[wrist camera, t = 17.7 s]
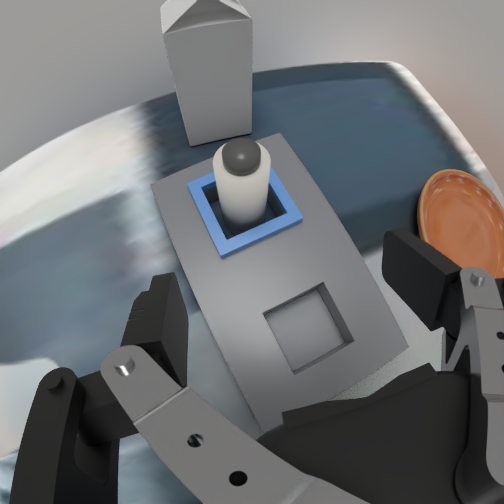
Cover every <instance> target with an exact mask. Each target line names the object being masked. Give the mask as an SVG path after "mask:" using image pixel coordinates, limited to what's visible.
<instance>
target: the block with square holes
mask: <svg viewBox="0 0 504 504" xmlns="http://www.w3.org/2000/svg"><path fill="white" fill-rule="evenodd" d="M255 142H257V143H259V144H261V145H262V146H263V147H264V148H265V149H266V150H267V151H268V153H269V155H270V159H271V165H270V175H269V184H268V194H267V201H268V202H269V204H270V206H271V208H272V209H273V211H274V213H275V214H276V216H277V218H275V219H273V220H270V221H268V222H266V223H264V224H261V225H259V226H257V227H255V228H252V229H250V230H248V231H246V232H244V233H241V234H239V235H237V236H235V237H233V238H230V239H228V240H226V238H225V236H224V234H223V232H222V230H221V227H220V225H219V223H218V221H217V219H216V217H215V215H214V213H213V211H212V209H211V207H210V205H209V203H210V202H213V201H215V200H217V199H219V195H218V190H217V185H216V180H215V174H214V169H213V158H214V157H212V158H210V159H207V160H205V161H202V162H200V163H198V164H195V165H193V166H191V167H188V168H186V169H184V170H181V171H179V172H177V173H174V174H172V175H170V176H168V177H166V178H163V179H161V180H159V181H157V182H155V183H153V184H150V185H151V188H152V191H153V193H154V196H155V199H156V201H157V204H158V207H159V209H160V212H161V215H162V217H163V220H164V222H165V225H166V228H167V230H168V233H169V235H170V238H171V240H172V243H173V245H174V248H175V250H176V252H177V255H178V257H179V260H180V262H181V264H182V267H183V269H184V271H185V274H186V276H187V278H188V281H189V283H190V285H191V288H192V290H193V292H194V295H195V297H196V299H197V301H198V303H199V306H200V308H201V310H202V312H203V314H204V317H205V319H206V321H207V323H208V325H209V327H210V329H211V332H212V334H213V336H214V338H215V340H216V342H217V344H218V346H219V348H220V350H221V352H222V354H223V356H224V358H225V360H226V362H227V364H228V366H229V368H230V370H231V372H232V374H233V376H234V378H235V380H236V382H237V384H238V386H239V388H240V390H241V392H242V394H243V396H244V397H245V399H246V401H247V403H248V405H249V407H250V409H251V411H252V412H253V414H254V416H255V418H256V420H257V421H258V423H259V425H260V427H261V429H262V430H263V432H266V431H269V430H271V429H273V428H274V427H276V426H279V425H281V424H283V420H282V412H284V411H288V410H293V409H297V408H301V407H305V406H309V405H312V404H316V403H320V402H324V401H327V400H329V399H331V398H333V397H334V396H336V395H338V394H339V393H341V392H343V391H344V390H346V389H348V388H349V387H351V386H353V385H354V384H356V383H357V382H359V381H360V380H362V379H364V378H365V377H367V376H368V375H370V374H371V373H373V372H374V371H376V370H377V369H379V368H380V367H382V366H383V365H384V364H386V363H387V362H389V361H390V360H392V359H393V358H394V357H396V356H397V355H398V354H400V353H401V352H403V351H404V350H405V349H407V348H408V347H409V346H408V344H407V342H406V340H405V338H404V336H403V334H402V332H401V330H400V328H399V326H398V324H397V322H396V320H395V318H394V316H393V314H392V312H391V310H390V308H389V306H388V304H387V302H386V300H385V298H384V296H383V294H382V293H381V291H380V289H379V287H378V285H377V283H376V282H375V280H374V278H373V276H372V274H371V273H370V271H369V269H368V267H367V265H366V264H365V262H364V260H363V259H362V257H361V255H360V253H359V252H358V250H357V248H356V247H355V245H354V243H353V241H352V240H351V238H350V236H349V235H348V233H347V232H346V230H345V228H344V227H343V225H342V223H341V222H340V220H339V219H338V217H337V215H336V214H335V212H334V211H333V209H332V208H331V206H330V204H329V203H328V201H327V200H326V198H325V197H324V195H323V194H322V192H321V191H320V189H319V188H318V186H317V185H316V183H315V182H314V180H313V179H312V177H311V176H310V174H309V173H308V171H307V170H306V169H305V167H304V166H303V164H302V163H301V161H300V160H299V159H298V157H297V156H296V154H295V153H294V151H293V150H292V149H291V147H290V146H289V145H288V143H287V142H286V140H285V139H284V138H283V136H282V135H281V134H280V133H277V134H275V135H272V136H269V137H266V138H263V139H260V140H257V141H255ZM316 288H317V289H318V291H319V293H320V295H321V297H322V299H323V300H324V302H325V304H326V306H327V308H328V310H329V312H330V314H331V315H332V317H333V319H334V321H335V323H336V325H337V327H338V329H339V331H340V333H341V335H342V336H343V338H344V340H345V343H343V344H341V345H340V346H338V347H336V348H335V349H333V350H331V351H329V352H328V353H326V354H324V355H322V356H321V357H319V358H317V359H315V360H313V361H312V362H310V363H308V364H306V365H304V366H302V367H301V368H299V369H297V370H295V371H293V372H292V370H291V368H290V366H289V364H288V362H287V360H286V358H285V356H284V355H283V353H282V351H281V349H280V347H279V345H278V343H277V341H276V339H275V337H274V335H273V333H272V331H271V329H270V327H269V325H268V323H267V321H266V320H265V318H264V316H263V315H265V314H267V313H269V312H271V311H273V310H275V309H277V308H279V307H281V306H283V305H285V304H287V303H289V302H291V301H293V300H295V299H296V298H298V297H300V296H302V295H304V294H306V293H308V292H310V291H312V290H314V289H316Z"/></svg>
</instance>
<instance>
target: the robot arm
mask: <svg viewBox="0 0 504 504" xmlns="http://www.w3.org/2000/svg"><path fill="white" fill-rule="evenodd" d="M382 274H383V277H384V280H385V281H386V283H387V284H388V285H389V286H390V287H391V288H392V289H393V290H394V291H395V292H396V293H397V294H398V295H399V296H400V298H401V299H402V300H403V301H404V302H405V303H406V304H407V305H408V306H409V307H410V308H411V310H412V311H413V312H414V313H415V314H416V315H417V316H418V317H419V318H420V320H421V321H422V322H423V323H424V324H425V325H426V326H427V328H428V329H429V330H430V331H434V330H436V329H438V328H441V327H444V328H445V329H444V332H443V335H442V360H441V371H435V370H434V368H433V367H432V366H431V364H430V363H427V364H425V365H422V366H420V367H418V368H416V369H413V370H411V371H409V372H406V373H404V374H401V375H399V376H398V377H396V378H395V379H393V380H392V381H391V382H389V383H388V384H386V385H385V386H384V387H382V388H381V389H379V390H378V391H376V392H375V393H373V394H372V395H370V396H368V397H364V398H357V399H347V400H336V401H324V402H320V403H316V404H312V405H309V406H305V407H301V408H297V409H293V410H288V411H284V412H282V420H283V424H281V425H279V426H276V427H274V428H273V429H271V430H269V431H268V432H266V433H265V434H263V435H262V436H261V437H259V438H258V439H257V440H256V441H255V440H254V439H252V438H251V437H250V436H248V435H247V434H246V433H244V432H243V431H242V430H241V429H239V428H238V427H237V426H235V425H234V424H233V423H232V422H230V421H229V420H228V419H227V418H225V417H224V416H223V415H222V414H220V413H219V412H218V411H217V410H216V409H214V408H213V407H212V406H211V405H210V404H209V403H207V402H206V401H205V400H204V399H203V398H202V397H200V396H199V395H198V394H197V393H196V392H195V391H194V390H192V389H191V388H190V387H188V386H187V351H188V315H187V310H186V307H185V304H184V301H183V297H182V294H181V291H180V288H179V285H178V281H177V278H176V276H175V274H174V272H172V273H166V274H161V275H155V276H153V278H152V281H151V285H150V288H149V291H144V292H141V294H140V295H139V296H138V297H137V298H136V299H135V300H134V303H133V306H132V309H131V313H130V315H129V318H128V319H129V321H128V322H127V325H126V328H125V332H124V335H123V339H122V342H121V346H120V347H119V348H117V349H115V350H113V351H112V352H110V353H109V354H108V355H107V356H106V357H105V358H104V360H103V362H102V364H101V370H100V371H98V372H95V373H92V374H89V375H86V376H83V377H80V378H77V376H76V375H75V373H74V372H73V371H72V370H71V369H69V368H65V367H61V368H57V369H54V370H52V371H50V372H49V373H48V374H46V375H45V376H44V377H43V379H42V380H41V381H40V383H39V386H38V388H37V391H36V395H35V397H34V400H33V403H32V406H31V409H30V413H29V416H28V419H27V422H26V426H25V429H24V433H23V437H22V441H21V444H20V449H19V453H18V457H17V462H16V466H15V471H14V477H13V482H12V488H11V495H10V502H9V504H118V460H119V442H120V438H124V437H127V436H130V435H133V434H136V433H139V432H140V434H141V435H142V436H143V438H144V439H145V440H146V441H147V443H148V444H149V445H150V446H151V448H152V449H153V450H154V451H155V452H156V454H157V455H158V456H159V457H160V458H161V460H162V461H163V462H164V463H165V464H166V465H167V466H168V468H169V469H170V470H171V471H172V472H173V473H174V474H175V475H176V476H177V477H178V479H179V480H180V481H181V482H182V483H183V484H184V485H185V486H186V487H187V488H188V489H189V490H190V491H191V492H192V493H193V494H194V495H195V496H196V497H197V498H198V499H199V500H200V501H201V502H202V503H203V504H504V278H496V279H494V277H493V276H492V275H491V274H490V273H489V272H487V271H486V270H484V269H481V268H478V267H466V268H464V269H462V268H461V267H460V266H458V265H457V264H456V263H455V262H453V261H452V260H451V259H449V258H448V257H447V256H445V255H444V254H443V255H442V253H441V252H440V251H438V250H436V249H435V248H434V247H433V246H431V245H430V244H429V243H427V242H425V241H422V240H420V239H419V238H417V237H416V236H414V235H413V234H411V233H410V232H408V231H407V230H406V229H397V230H392V231H388V232H386V233H385V235H384V244H383V257H382Z"/></svg>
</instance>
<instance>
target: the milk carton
mask: <svg viewBox="0 0 504 504" xmlns="http://www.w3.org/2000/svg"><path fill="white" fill-rule="evenodd" d="M160 11H161V25H162V34H163V39H164V43H165V48H166V52H167V57H168V61H169V65H170V69H171V73H172V77H173V81H174V86H175V90H176V94H177V98H178V102H179V106H180V110H181V113H182V117H183V121H184V125H185V129H186V133H187V137H188V140H189V144H190V146H195V145H199V144H203V143H207V142H212V141H216V140H221V139H225V138H230V137H235V136H240V135H245V134H250V133H252V18H251V17H250V16H249V14H248V13H247V11H246V10H245V9H244V8H243V6H242V5H241V4H240V2H239V1H238V0H167V1H166V2H165V3H164V4H163V5H162V6H161V8H160Z"/></svg>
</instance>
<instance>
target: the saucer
mask: <svg viewBox="0 0 504 504" xmlns="http://www.w3.org/2000/svg"><path fill="white" fill-rule="evenodd" d="M417 223H418V230H419V235H420V239H421V240H422V241H425V242H427V243H429V244H430V245H431V246H433V247H434V248H435V249H436V250H438V251H440V252H441V253H442V255H443V254H444V255H445V256H447V257H448V258H449V259H451V260H452V261H453V262H455V263H456V264H457V265H458V266H460V267H461V268H462V269H464V268H466V267H478V268H481V269H484V270H486V271H487V272H489V273H490V274H491V275H492V276H493V277H494V279H496V278H504V209H503V207H502V206H501V204H500V202H499V201H498V199H497V198H496V197H495V195H494V194H493V193H492V192H491V190H490V189H489V188H488V187H487V186H486V185H485V184H483V183H482V182H481V181H480V180H478V179H477V178H475V177H474V176H472V175H470V174H468V173H466V172H463V171H460V170H454V169H447V170H442V171H439V172H437V173H435V174H434V175H432V176H431V177H430V178H429V180H428V181H427V182H426V184H425V186H424V187H423V189H422V191H421V194H420V197H419V201H418V207H417Z"/></svg>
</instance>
